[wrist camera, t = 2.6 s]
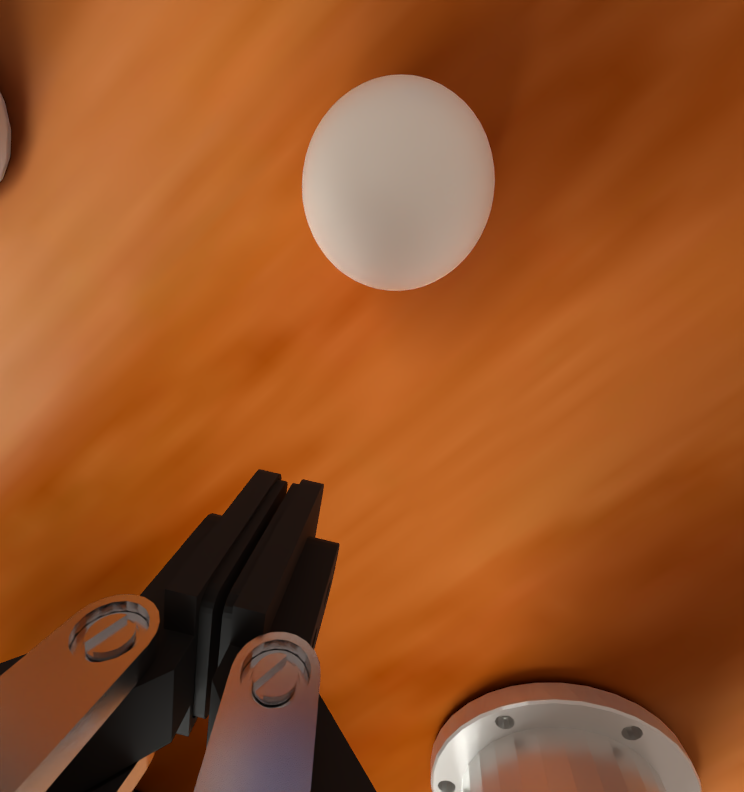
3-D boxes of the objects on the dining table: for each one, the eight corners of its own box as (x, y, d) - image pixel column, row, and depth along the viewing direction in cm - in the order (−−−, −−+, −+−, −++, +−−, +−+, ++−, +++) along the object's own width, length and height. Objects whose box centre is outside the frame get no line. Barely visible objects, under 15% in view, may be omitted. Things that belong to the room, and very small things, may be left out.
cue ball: (510, 230, 14) (559, 201, 9) (380, 317, 16) (357, 336, 10) (428, 82, 13) (428, -45, 8) (298, 189, 15) (227, 140, 9)
